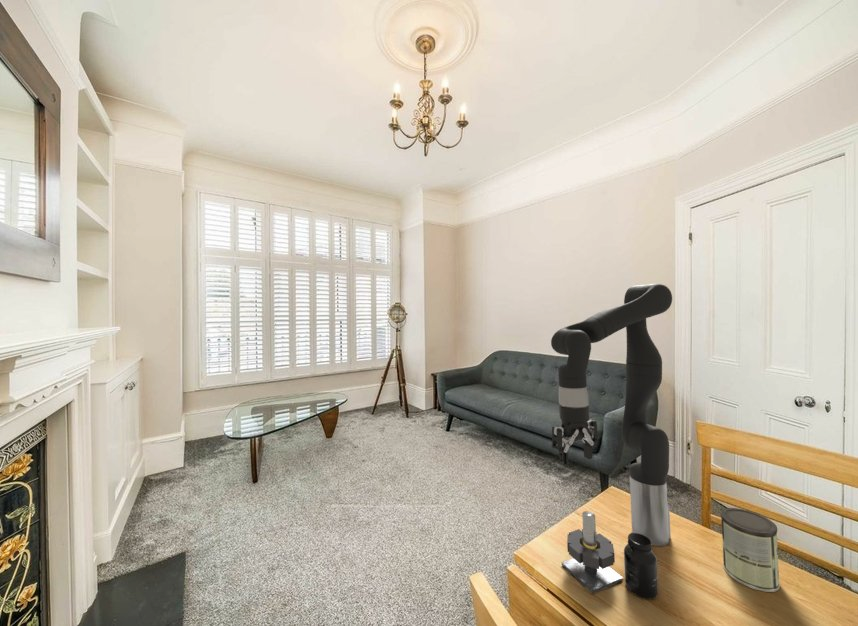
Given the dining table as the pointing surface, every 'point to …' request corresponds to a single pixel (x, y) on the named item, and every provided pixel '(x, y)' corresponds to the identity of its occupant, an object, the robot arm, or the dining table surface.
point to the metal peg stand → (589, 575)
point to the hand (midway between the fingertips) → (576, 461)
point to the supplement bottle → (640, 567)
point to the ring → (591, 557)
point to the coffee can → (750, 549)
